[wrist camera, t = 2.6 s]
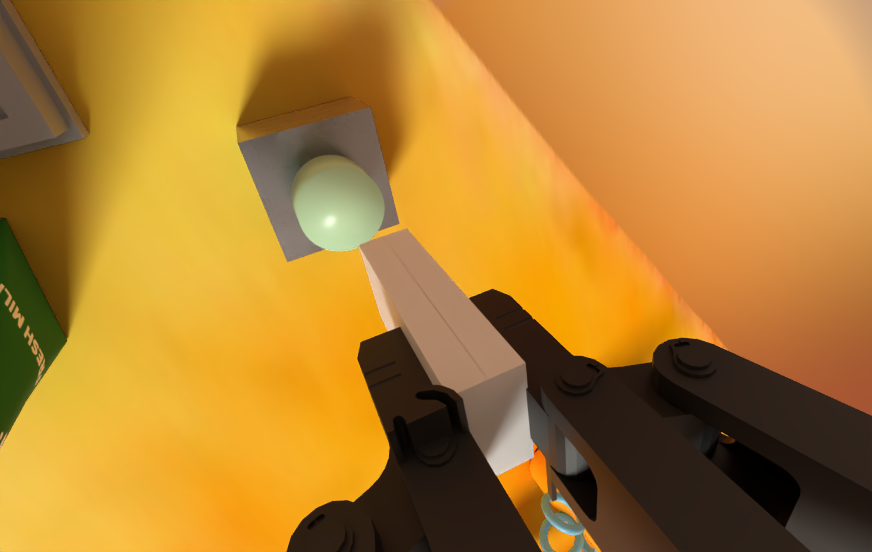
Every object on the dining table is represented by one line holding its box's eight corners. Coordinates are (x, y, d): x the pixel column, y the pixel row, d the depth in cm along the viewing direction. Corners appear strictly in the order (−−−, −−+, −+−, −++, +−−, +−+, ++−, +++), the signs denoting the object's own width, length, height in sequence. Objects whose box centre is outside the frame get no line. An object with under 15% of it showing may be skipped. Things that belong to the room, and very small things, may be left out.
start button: (306, 241, 21) (314, 262, 19) (278, 168, 19) (284, 183, 17) (378, 217, 22) (392, 235, 20) (358, 144, 20) (372, 157, 18)
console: (279, 232, 25) (287, 261, 22) (236, 126, 22) (237, 142, 19) (378, 200, 27) (399, 223, 24) (350, 96, 24) (370, 107, 20)
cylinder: (578, 394, 44) (713, 533, 32) (610, 437, 50) (733, 566, 38) (484, 475, 44) (583, 644, 32) (527, 507, 50) (624, 660, 38)
